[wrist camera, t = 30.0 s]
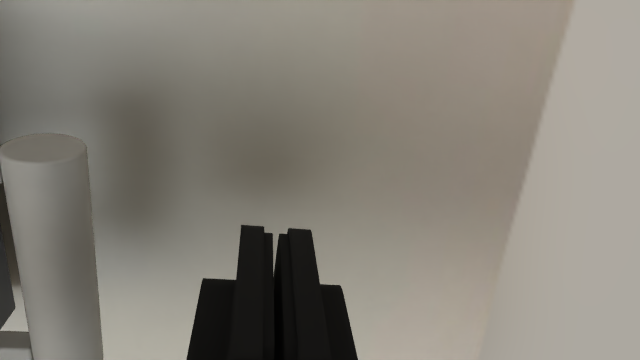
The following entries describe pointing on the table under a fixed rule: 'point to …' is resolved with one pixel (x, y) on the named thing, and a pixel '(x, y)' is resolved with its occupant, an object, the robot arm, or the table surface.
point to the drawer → (50, 250)
